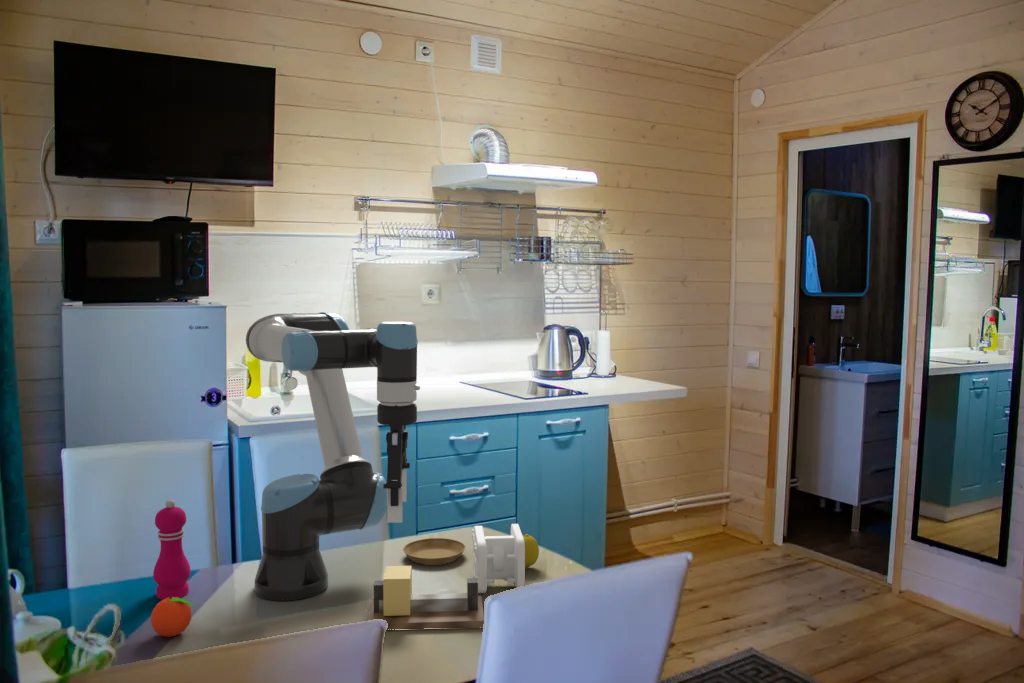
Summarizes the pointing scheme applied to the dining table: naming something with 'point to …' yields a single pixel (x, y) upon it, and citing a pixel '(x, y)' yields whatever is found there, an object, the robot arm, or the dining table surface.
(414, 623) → the rail board
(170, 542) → the pepper mill
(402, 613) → the slider
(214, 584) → the dining table surface
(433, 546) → the plant saucer
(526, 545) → the lemon
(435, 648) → the dining table surface
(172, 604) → the clementine
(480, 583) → the cable organizer
